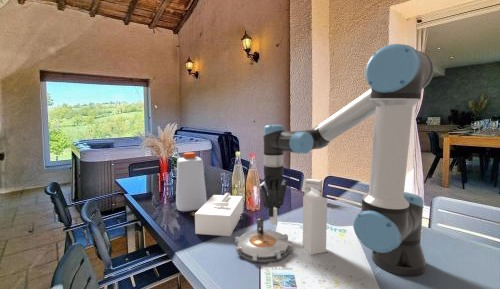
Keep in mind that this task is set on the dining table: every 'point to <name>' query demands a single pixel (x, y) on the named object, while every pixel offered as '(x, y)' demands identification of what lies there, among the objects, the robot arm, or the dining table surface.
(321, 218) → the milk
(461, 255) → the dining table surface
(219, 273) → the dining table surface
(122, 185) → the dining table surface
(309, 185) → the ink box
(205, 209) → the tissue box
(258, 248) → the sprocket
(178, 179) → the plastic bottle
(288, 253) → the sprocket base
